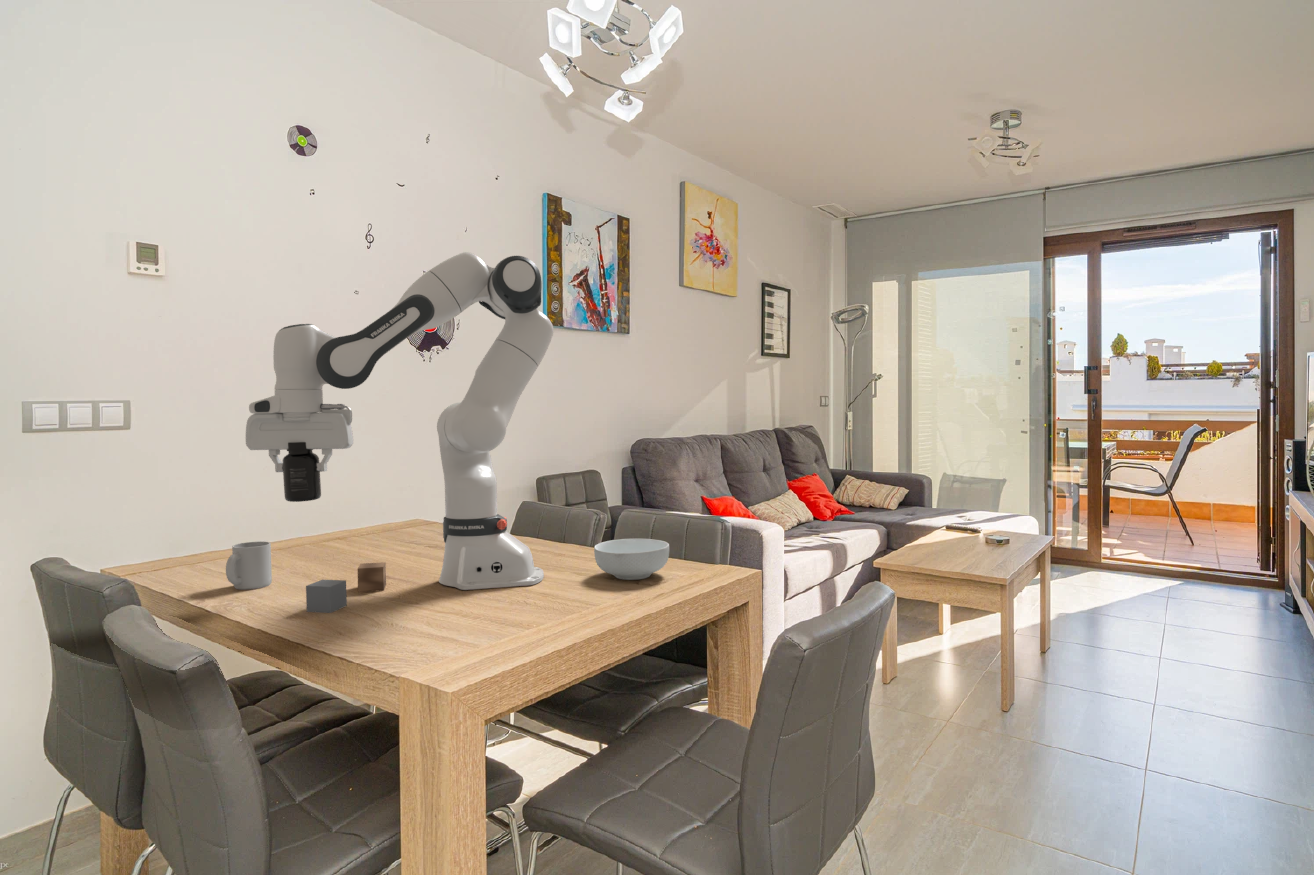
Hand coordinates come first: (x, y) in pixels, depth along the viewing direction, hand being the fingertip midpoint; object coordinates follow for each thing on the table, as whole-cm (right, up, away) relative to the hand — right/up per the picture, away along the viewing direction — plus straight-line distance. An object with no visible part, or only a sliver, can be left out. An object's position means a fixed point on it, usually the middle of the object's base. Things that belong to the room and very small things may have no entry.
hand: (301, 471), depth 151 cm
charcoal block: (+10, -26, -11) cm, 30 cm away
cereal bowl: (+67, -24, +14) cm, 73 cm away
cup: (-14, -25, +6) cm, 30 cm away
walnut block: (+13, -25, +4) cm, 28 cm away
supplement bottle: (0, -6, +1) cm, 6 cm away
